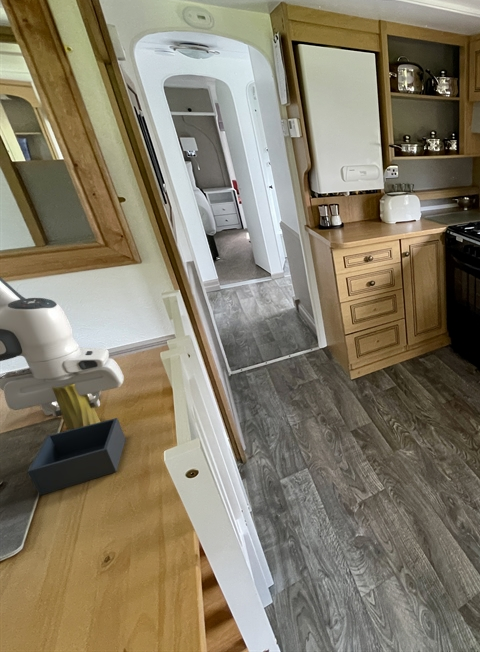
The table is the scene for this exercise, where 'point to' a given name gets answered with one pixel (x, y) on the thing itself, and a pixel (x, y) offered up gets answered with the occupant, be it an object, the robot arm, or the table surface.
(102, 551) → the table surface
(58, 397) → the vase
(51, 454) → the bin
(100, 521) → the table surface
